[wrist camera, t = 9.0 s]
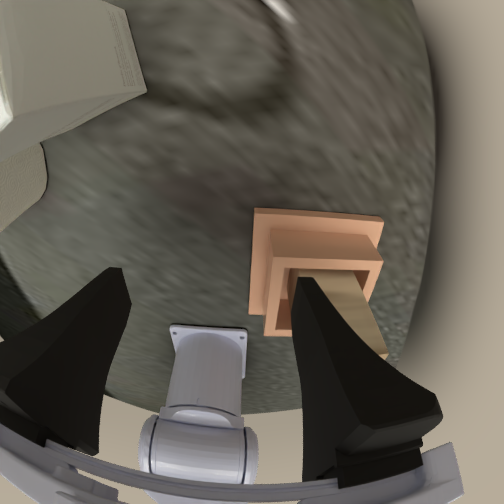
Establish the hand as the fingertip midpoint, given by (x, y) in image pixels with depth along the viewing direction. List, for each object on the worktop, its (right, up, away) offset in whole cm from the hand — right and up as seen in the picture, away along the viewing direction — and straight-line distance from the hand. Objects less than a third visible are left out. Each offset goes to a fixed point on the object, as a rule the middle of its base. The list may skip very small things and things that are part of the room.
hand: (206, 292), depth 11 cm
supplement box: (-9, +15, +3) cm, 18 cm away
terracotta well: (+7, +1, +12) cm, 14 cm away
